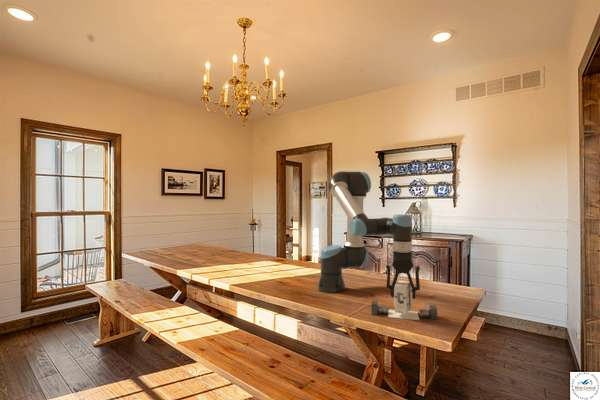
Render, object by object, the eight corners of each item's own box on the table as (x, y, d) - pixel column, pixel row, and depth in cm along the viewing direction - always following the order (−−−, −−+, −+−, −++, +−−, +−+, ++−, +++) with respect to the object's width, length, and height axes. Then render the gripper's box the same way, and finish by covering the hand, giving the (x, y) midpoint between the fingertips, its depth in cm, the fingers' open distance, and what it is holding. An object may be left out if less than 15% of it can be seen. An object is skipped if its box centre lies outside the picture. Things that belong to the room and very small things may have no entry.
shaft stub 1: (371, 314, 135) (371, 304, 135) (372, 310, 140) (372, 300, 140) (387, 315, 133) (387, 305, 133) (387, 311, 138) (387, 301, 138)
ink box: (399, 306, 139) (399, 279, 139) (411, 308, 136) (411, 281, 136) (394, 312, 131) (394, 284, 131) (406, 314, 129) (406, 285, 129)
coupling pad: (388, 317, 131) (388, 316, 131) (388, 310, 140) (388, 309, 140) (419, 320, 128) (419, 319, 128) (417, 312, 136) (417, 311, 136)
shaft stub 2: (420, 318, 130) (420, 307, 130) (419, 314, 134) (419, 303, 134) (437, 320, 128) (437, 309, 128) (435, 315, 133) (435, 305, 133)
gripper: (379, 251, 133) (379, 306, 133) (427, 253, 128) (428, 310, 128) (379, 248, 140) (380, 301, 140) (425, 250, 135) (426, 304, 135)
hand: (403, 305), depth 134 cm, fingers closed on ink box, 6 cm apart
